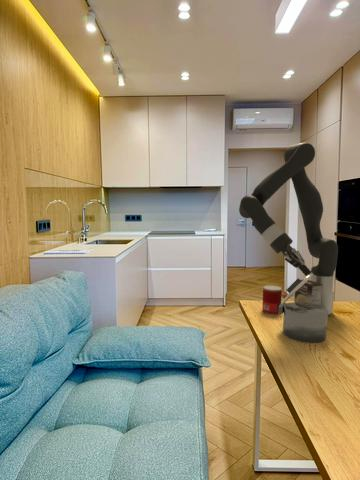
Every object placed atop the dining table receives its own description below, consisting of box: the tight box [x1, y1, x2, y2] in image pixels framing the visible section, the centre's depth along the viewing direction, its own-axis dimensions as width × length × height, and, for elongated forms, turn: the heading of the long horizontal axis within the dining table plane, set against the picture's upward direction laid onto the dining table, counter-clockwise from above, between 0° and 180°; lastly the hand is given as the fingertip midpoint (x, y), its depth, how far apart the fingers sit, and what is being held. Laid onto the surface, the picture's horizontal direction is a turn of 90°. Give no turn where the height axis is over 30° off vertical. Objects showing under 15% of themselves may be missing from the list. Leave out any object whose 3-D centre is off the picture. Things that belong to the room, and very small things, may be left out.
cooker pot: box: [278, 301, 329, 344], centre depth 121 cm, size 17×15×10 cm
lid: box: [281, 272, 314, 305], centre depth 121 cm, size 16×16×3 cm
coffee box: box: [293, 278, 322, 306], centre depth 136 cm, size 9×6×16 cm
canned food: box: [261, 284, 283, 315], centre depth 146 cm, size 8×8×11 cm
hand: (309, 274), depth 118 cm, fingers closed
